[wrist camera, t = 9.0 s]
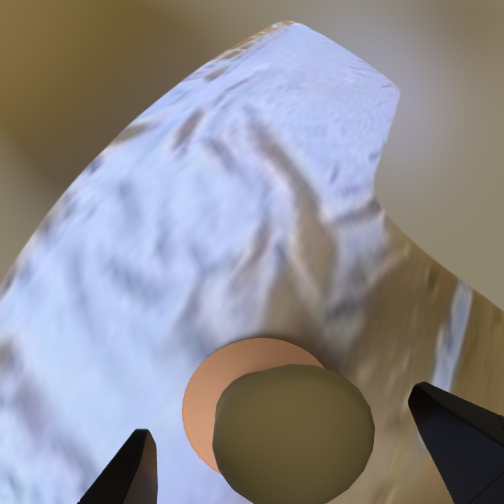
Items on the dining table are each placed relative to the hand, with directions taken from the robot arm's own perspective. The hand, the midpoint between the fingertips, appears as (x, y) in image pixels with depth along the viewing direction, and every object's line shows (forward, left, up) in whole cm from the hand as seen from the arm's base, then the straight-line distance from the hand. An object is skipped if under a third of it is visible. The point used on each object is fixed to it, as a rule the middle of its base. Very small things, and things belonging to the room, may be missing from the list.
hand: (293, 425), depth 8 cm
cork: (0, 0, -10) cm, 10 cm away
